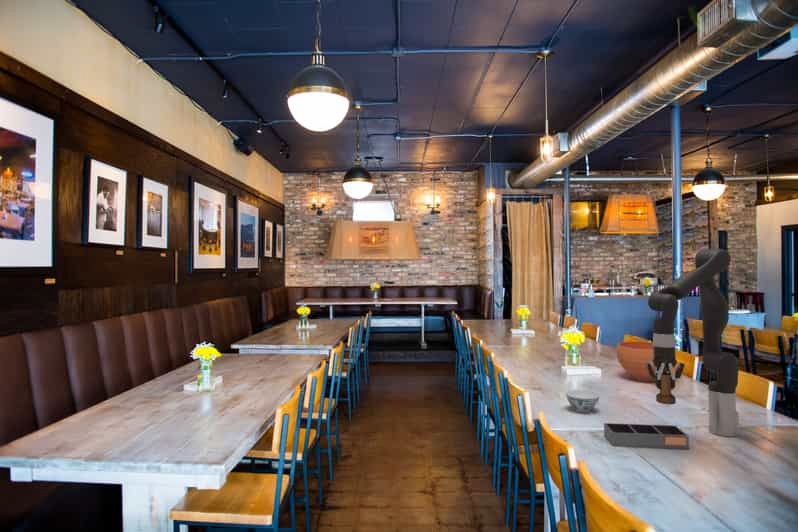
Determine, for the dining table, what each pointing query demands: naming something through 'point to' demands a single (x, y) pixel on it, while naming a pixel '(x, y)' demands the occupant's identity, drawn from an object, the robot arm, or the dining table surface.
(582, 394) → the chinaware
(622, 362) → the bowl
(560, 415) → the dining table surface
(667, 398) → the brown turned rounded post
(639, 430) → the rack
